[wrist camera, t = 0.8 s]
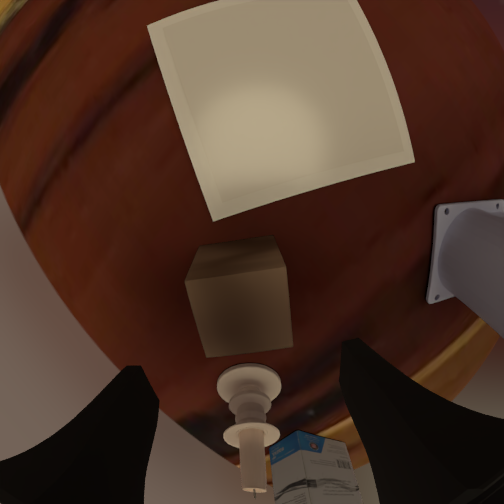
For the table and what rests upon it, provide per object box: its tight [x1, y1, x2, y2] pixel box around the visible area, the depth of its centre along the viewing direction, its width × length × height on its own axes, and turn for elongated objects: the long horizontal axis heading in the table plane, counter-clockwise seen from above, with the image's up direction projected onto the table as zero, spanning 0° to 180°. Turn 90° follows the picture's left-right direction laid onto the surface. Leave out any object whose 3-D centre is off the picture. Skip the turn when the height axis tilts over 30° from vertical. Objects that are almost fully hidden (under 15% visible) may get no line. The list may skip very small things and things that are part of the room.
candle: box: [217, 363, 281, 498], centre depth 16 cm, size 5×5×10 cm
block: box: [185, 235, 293, 358], centre depth 15 cm, size 4×4×5 cm
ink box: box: [269, 430, 363, 504], centre depth 20 cm, size 8×5×12 cm, turn 51°
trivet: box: [147, 0, 415, 221], centre depth 12 cm, size 12×12×2 cm
